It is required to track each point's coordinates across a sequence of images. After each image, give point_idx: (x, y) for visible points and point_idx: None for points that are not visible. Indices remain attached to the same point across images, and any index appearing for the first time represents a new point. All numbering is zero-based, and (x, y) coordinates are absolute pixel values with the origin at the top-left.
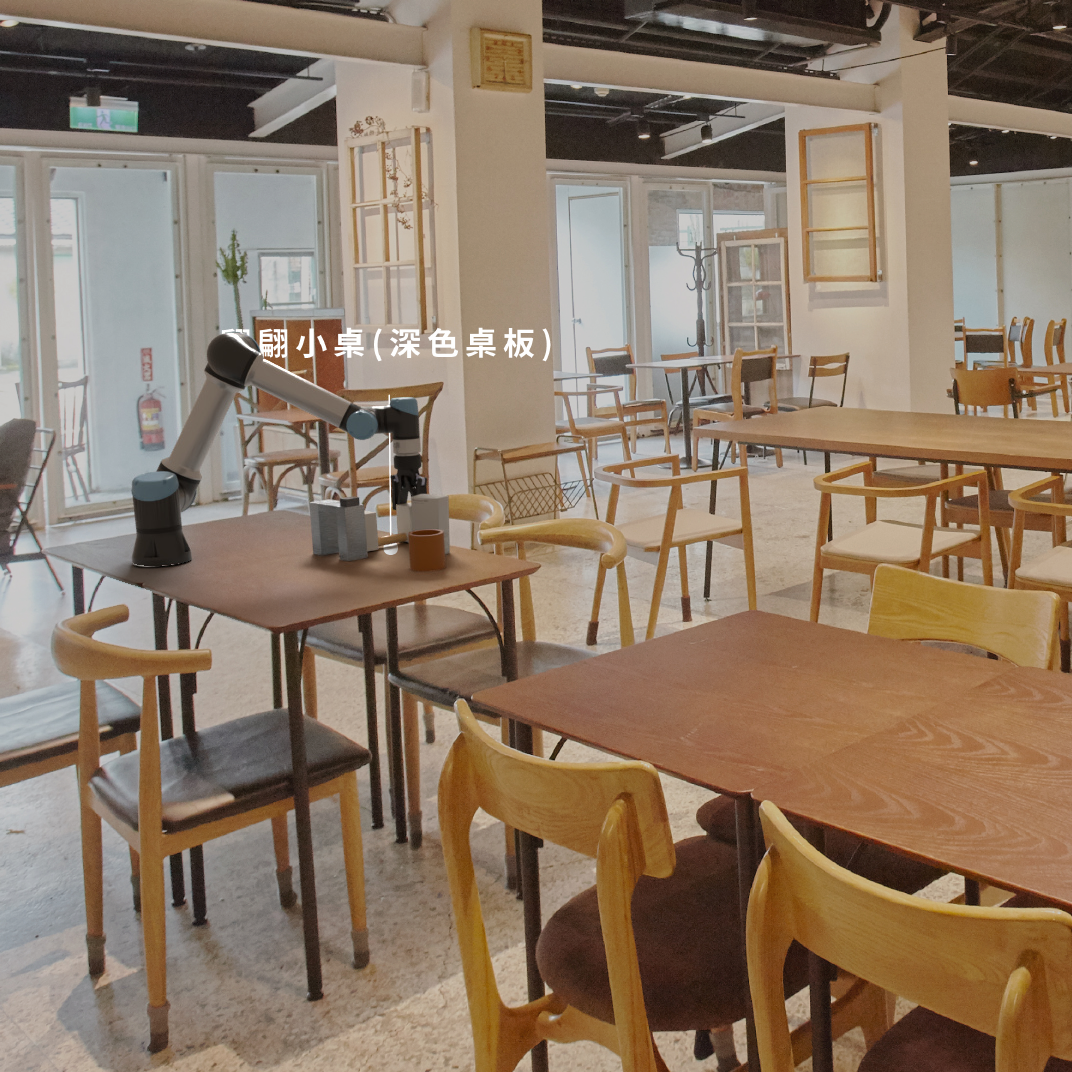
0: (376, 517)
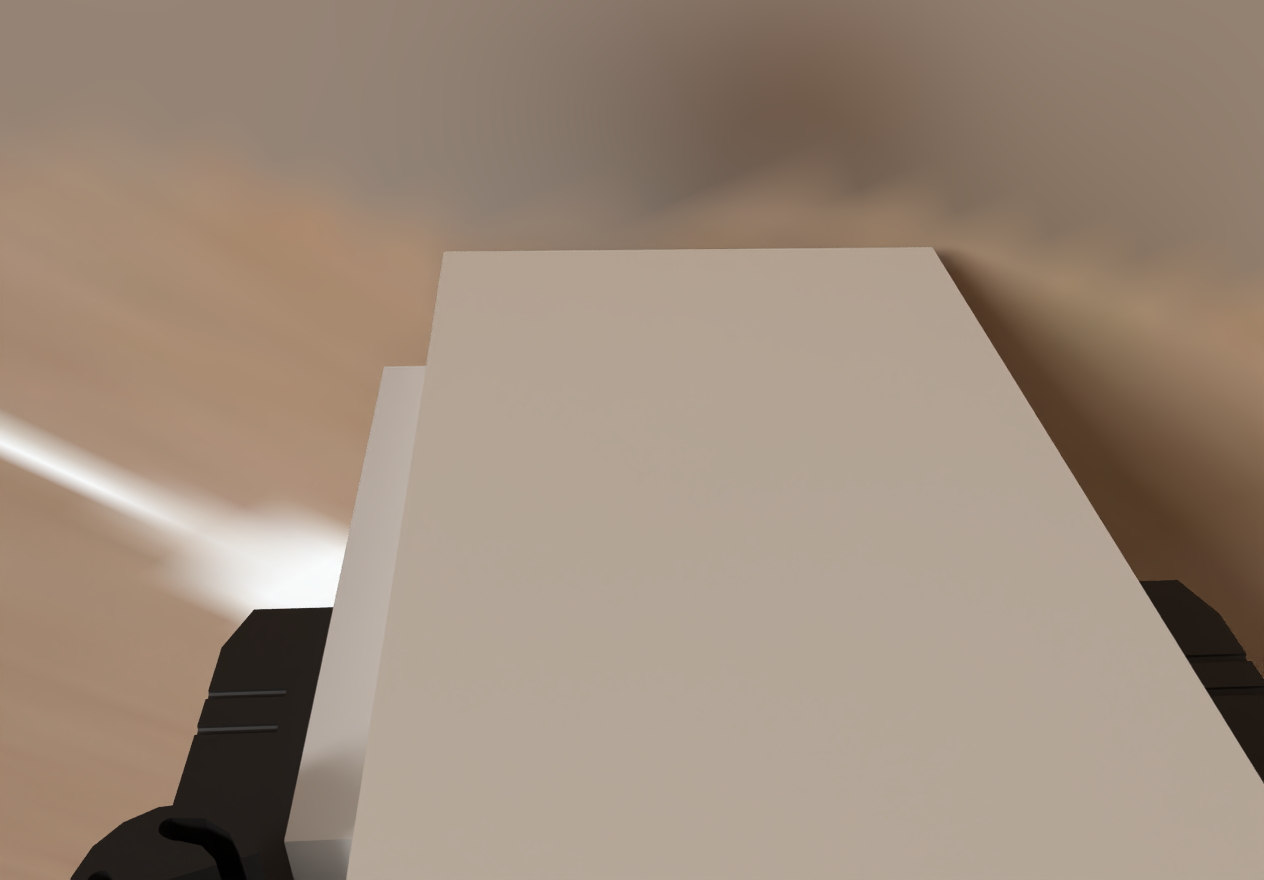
0: None
